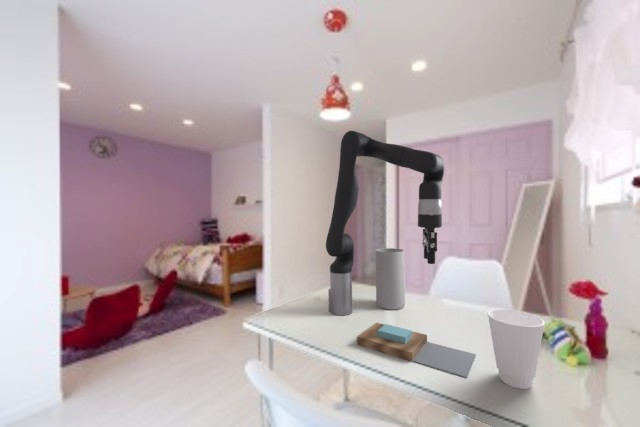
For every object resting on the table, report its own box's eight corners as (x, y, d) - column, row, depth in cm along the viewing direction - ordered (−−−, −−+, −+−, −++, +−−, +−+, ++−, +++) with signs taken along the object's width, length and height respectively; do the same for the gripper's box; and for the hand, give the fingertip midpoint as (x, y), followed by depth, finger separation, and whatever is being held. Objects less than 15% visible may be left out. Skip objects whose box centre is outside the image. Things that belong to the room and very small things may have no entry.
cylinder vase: (372, 307, 126) (371, 251, 126) (381, 299, 137) (381, 247, 137) (400, 312, 120) (399, 253, 120) (408, 303, 130) (407, 249, 130)
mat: (412, 361, 81) (412, 360, 81) (427, 342, 92) (427, 341, 92) (466, 378, 73) (466, 377, 73) (475, 355, 84) (475, 354, 84)
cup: (497, 362, 80) (496, 305, 80) (550, 381, 71) (550, 317, 71) (480, 379, 72) (480, 316, 72) (538, 402, 63) (538, 331, 63)
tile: (378, 336, 92) (377, 330, 92) (385, 330, 97) (385, 324, 97) (405, 344, 87) (405, 337, 87) (412, 336, 91) (412, 330, 91)
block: (357, 344, 92) (356, 336, 92) (376, 329, 103) (376, 322, 103) (412, 361, 81) (412, 352, 81) (427, 342, 92) (427, 334, 92)
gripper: (415, 212, 103) (415, 257, 104) (420, 213, 89) (420, 265, 90) (437, 212, 102) (437, 257, 102) (446, 213, 88) (445, 266, 88)
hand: (429, 261), depth 96 cm, fingers open, 8 cm apart
